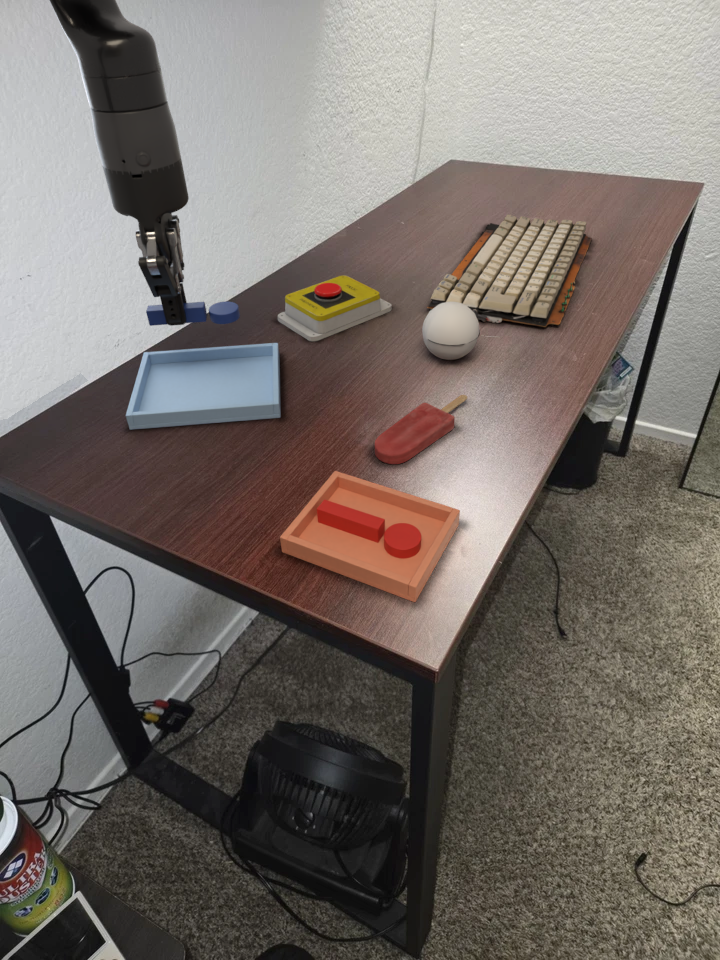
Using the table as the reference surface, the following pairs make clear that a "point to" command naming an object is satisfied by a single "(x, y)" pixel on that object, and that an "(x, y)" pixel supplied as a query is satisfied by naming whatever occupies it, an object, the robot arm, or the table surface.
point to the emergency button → (331, 307)
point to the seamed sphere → (451, 330)
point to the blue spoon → (198, 313)
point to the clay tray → (365, 555)
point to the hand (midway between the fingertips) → (178, 319)
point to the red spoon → (371, 528)
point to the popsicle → (415, 432)
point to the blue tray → (206, 386)
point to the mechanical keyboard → (518, 271)
